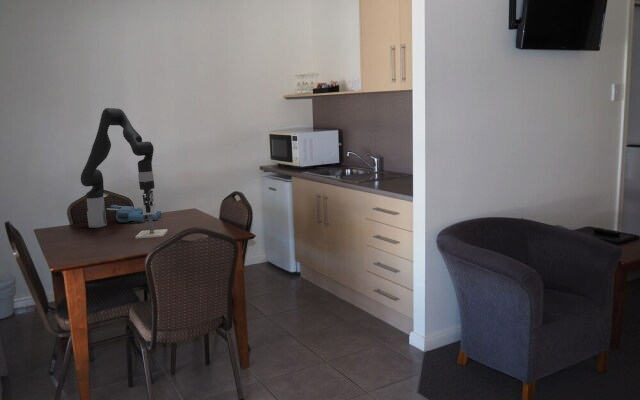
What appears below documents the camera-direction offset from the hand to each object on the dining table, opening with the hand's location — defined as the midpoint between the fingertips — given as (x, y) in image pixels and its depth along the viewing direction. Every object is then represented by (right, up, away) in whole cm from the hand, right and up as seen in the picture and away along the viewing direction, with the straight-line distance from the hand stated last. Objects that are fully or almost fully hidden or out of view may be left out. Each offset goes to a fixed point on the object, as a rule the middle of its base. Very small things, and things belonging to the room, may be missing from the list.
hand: (149, 211), depth 299 cm
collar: (0, -1, 0) cm, 1 cm away
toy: (-23, -7, +46) cm, 51 cm away
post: (+1, -12, +2) cm, 13 cm away
